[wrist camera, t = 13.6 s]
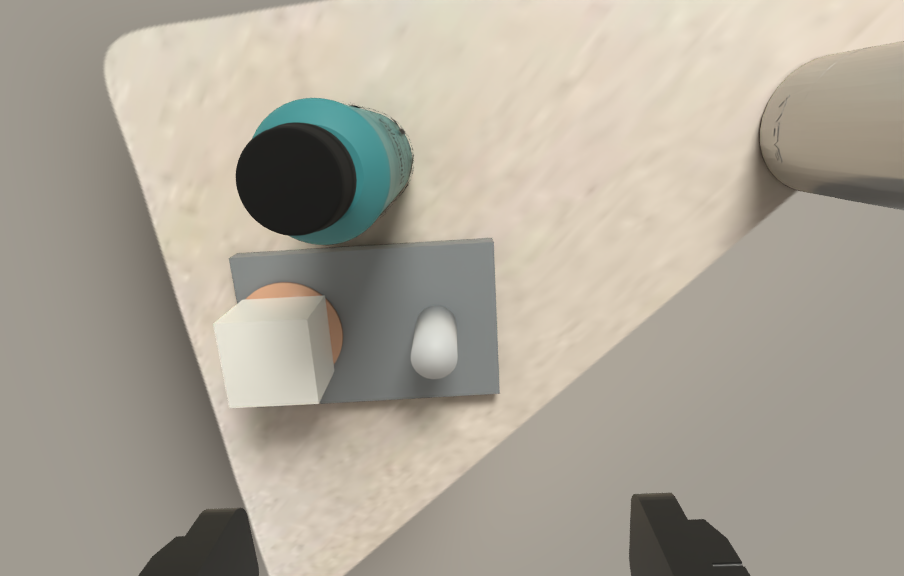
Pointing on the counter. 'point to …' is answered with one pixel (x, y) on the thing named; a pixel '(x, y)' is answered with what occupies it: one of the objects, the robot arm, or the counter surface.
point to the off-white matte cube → (275, 351)
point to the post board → (397, 314)
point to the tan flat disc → (299, 291)
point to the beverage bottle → (322, 170)
